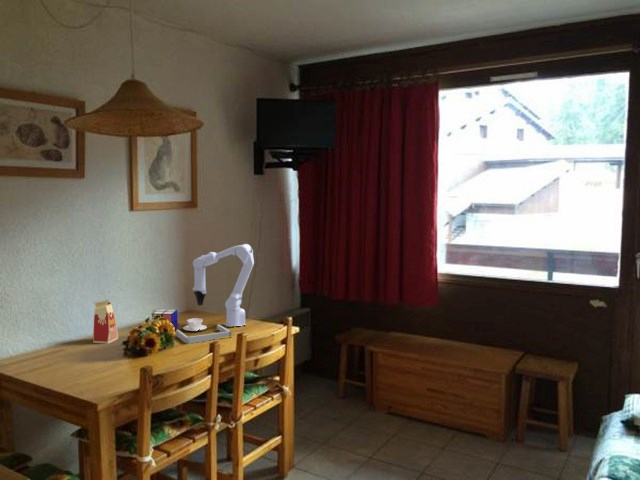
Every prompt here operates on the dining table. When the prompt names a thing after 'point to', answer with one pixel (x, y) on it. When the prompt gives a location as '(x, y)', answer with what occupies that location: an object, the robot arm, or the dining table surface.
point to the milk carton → (104, 323)
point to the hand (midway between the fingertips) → (200, 305)
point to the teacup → (194, 324)
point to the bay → (205, 337)
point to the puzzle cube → (168, 316)
